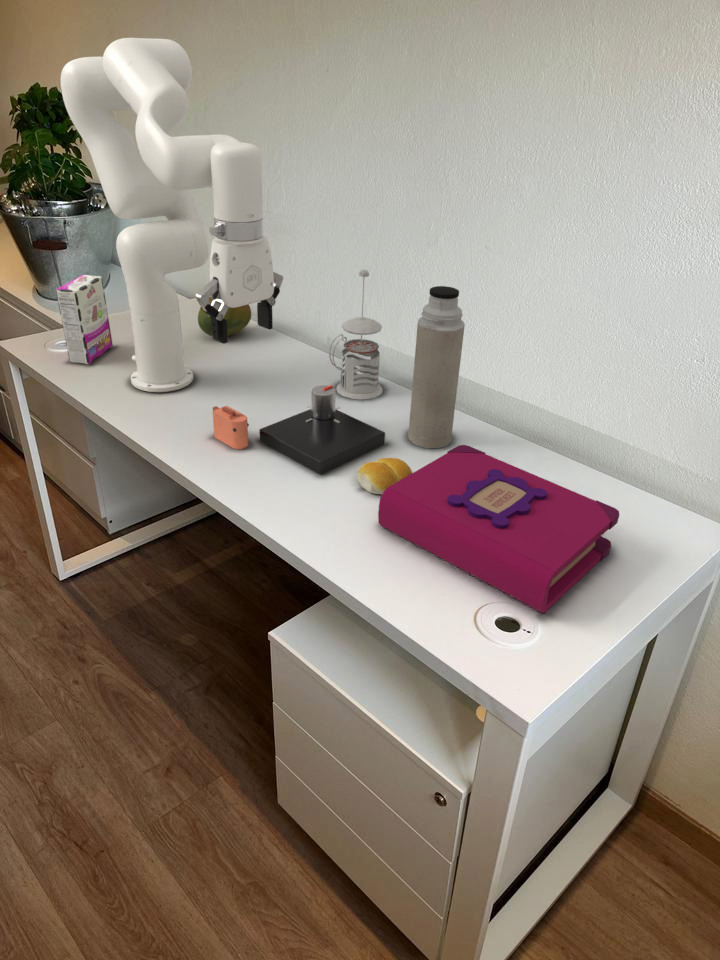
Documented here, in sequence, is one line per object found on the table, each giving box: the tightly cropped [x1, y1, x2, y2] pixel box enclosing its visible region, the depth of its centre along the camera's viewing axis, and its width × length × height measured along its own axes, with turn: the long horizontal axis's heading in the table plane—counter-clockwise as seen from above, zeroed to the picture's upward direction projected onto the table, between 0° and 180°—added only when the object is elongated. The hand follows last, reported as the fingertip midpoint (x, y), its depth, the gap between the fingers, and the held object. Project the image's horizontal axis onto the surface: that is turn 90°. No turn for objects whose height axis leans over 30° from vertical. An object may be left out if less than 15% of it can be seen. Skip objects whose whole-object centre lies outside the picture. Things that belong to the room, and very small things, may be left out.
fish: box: [212, 405, 250, 450], centre depth 132 cm, size 8×3×6 cm, turn 46°
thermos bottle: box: [407, 285, 466, 449], centre depth 130 cm, size 8×8×28 cm
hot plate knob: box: [311, 384, 337, 420], centre depth 136 cm, size 4×4×5 cm
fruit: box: [197, 296, 252, 337], centre depth 175 cm, size 12×13×10 cm
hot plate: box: [258, 406, 386, 476], centre depth 133 cm, size 17×17×3 cm
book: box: [377, 444, 620, 614], centre depth 108 cm, size 21×28×8 cm
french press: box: [328, 269, 384, 401], centre depth 147 cm, size 10×12×25 cm
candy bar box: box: [55, 274, 114, 365], centre depth 160 cm, size 11×5×16 cm, turn 168°
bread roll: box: [356, 457, 413, 495], centre depth 122 cm, size 8×9×4 cm
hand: (243, 333), depth 124 cm, fingers open, 9 cm apart
